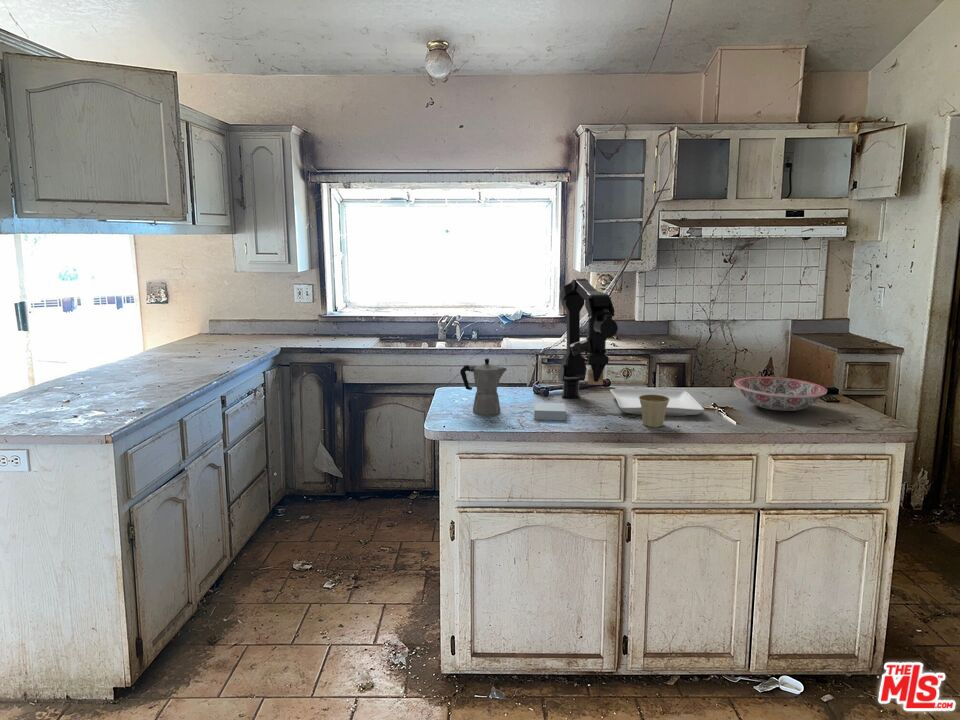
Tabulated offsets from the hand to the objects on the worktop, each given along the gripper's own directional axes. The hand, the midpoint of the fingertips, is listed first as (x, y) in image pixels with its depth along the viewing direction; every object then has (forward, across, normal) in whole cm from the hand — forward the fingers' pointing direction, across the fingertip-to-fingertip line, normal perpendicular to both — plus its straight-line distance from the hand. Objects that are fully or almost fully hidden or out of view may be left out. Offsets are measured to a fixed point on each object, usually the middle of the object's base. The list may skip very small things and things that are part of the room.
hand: (595, 380), depth 225 cm
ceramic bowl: (+12, -14, +63) cm, 66 cm away
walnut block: (+1, 0, 0) cm, 1 cm away
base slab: (+11, +4, -15) cm, 19 cm away
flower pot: (+12, +11, +17) cm, 24 cm away
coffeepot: (+12, +1, -37) cm, 38 cm away
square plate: (+12, -11, +21) cm, 27 cm away
